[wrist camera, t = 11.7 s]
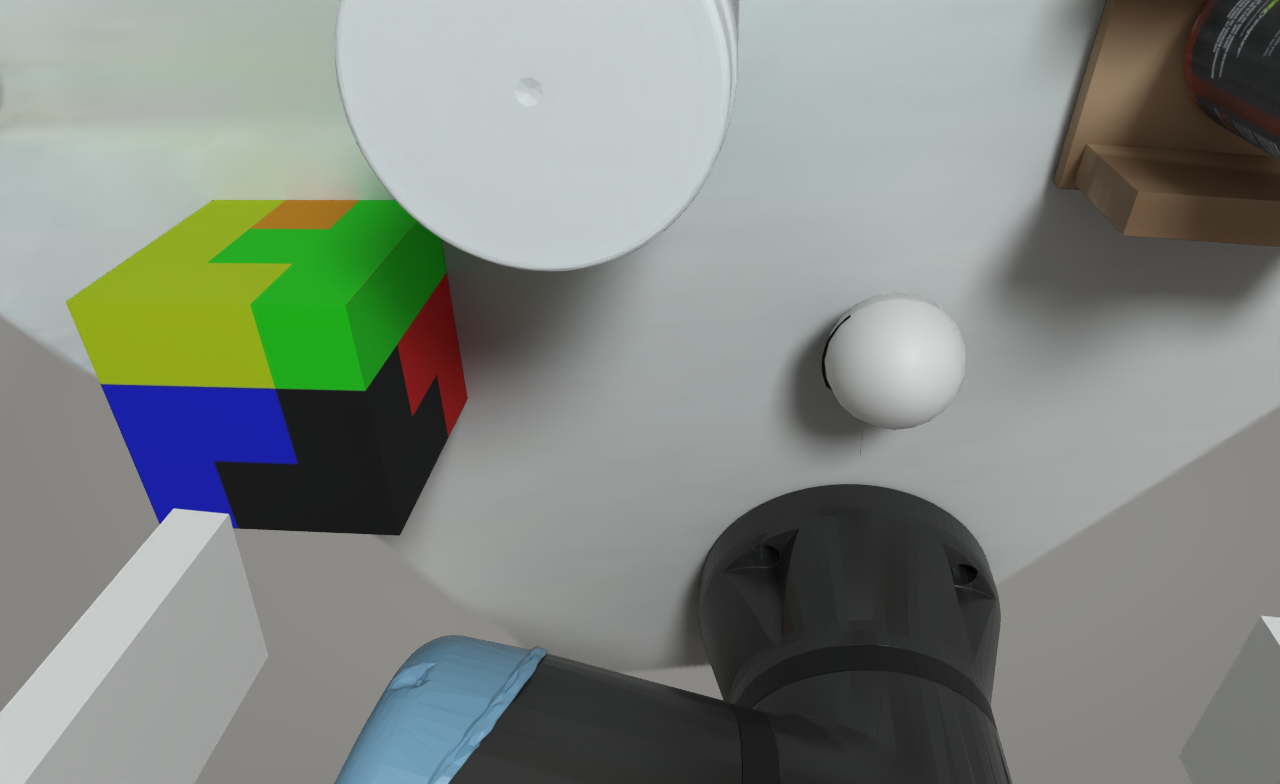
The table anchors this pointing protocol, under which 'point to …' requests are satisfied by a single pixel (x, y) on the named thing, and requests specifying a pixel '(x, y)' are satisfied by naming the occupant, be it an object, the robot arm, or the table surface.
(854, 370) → the white oval egg shape
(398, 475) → the puzzle toy
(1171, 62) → the holder cradle
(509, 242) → the supplement tub
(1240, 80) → the supplement bottle
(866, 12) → the table surface
